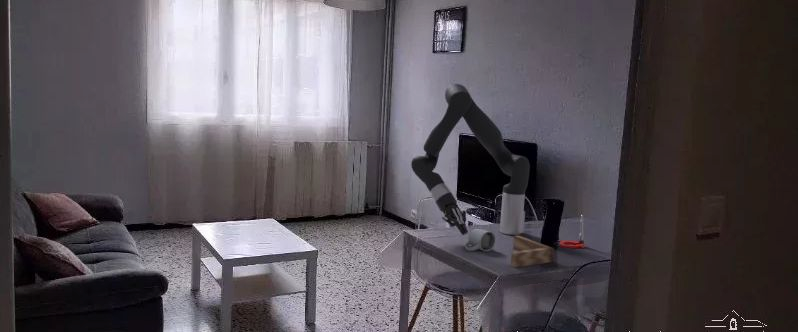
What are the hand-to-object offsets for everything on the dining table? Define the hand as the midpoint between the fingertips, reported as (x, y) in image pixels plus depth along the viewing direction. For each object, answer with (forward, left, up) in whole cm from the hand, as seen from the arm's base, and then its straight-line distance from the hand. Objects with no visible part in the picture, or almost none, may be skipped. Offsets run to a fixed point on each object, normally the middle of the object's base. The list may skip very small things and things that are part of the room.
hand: (465, 233), depth 234 cm
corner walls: (-8, +21, -4) cm, 23 cm away
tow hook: (-41, +16, -5) cm, 45 cm away
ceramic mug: (-1, +7, -5) cm, 9 cm away
